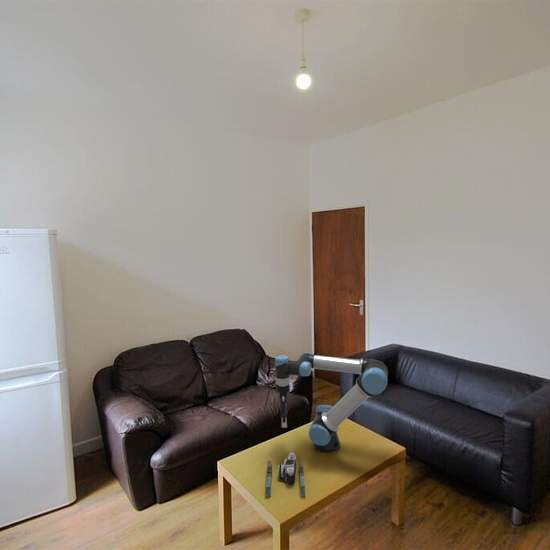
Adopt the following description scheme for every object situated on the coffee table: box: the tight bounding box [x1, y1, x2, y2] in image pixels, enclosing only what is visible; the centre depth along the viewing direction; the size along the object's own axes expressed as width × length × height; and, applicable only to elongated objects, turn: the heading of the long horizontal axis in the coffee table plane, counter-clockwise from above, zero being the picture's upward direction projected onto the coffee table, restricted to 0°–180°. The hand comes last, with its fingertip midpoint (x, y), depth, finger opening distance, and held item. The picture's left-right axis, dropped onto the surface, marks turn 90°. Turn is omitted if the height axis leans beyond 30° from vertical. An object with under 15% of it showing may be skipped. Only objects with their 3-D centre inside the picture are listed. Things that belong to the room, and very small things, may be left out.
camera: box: [277, 452, 297, 487], centre depth 182 cm, size 16×9×10 cm, turn 174°
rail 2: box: [298, 459, 306, 497], centre depth 177 cm, size 2×20×5 cm, turn 179°
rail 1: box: [265, 459, 273, 498], centre depth 177 cm, size 2×20×5 cm, turn 179°
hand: (284, 421), depth 200 cm, fingers open, 13 cm apart
